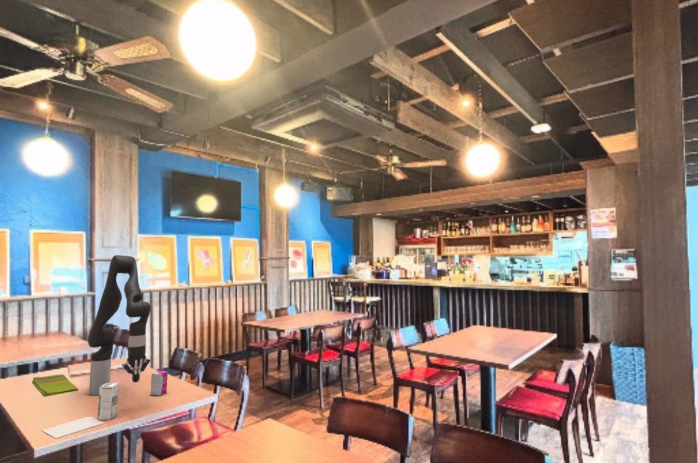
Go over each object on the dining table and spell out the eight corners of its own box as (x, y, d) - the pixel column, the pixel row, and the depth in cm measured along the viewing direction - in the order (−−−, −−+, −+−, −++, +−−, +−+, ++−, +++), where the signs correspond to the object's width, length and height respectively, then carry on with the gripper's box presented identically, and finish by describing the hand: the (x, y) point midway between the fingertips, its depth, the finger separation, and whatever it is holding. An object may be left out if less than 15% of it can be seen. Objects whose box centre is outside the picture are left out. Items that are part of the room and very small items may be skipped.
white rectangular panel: (41, 431, 166) (41, 430, 166) (89, 417, 181) (89, 416, 181) (55, 438, 159) (55, 438, 159) (104, 423, 174) (104, 422, 174)
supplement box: (159, 396, 209) (160, 373, 209) (149, 395, 210) (150, 373, 211) (167, 393, 214) (168, 370, 215) (157, 392, 215) (158, 370, 216)
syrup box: (103, 415, 183) (105, 382, 184) (117, 415, 183) (119, 382, 185) (97, 420, 177) (98, 386, 178) (111, 420, 178) (112, 386, 179)
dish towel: (63, 377, 242) (64, 372, 243) (79, 391, 218) (79, 385, 218) (31, 383, 231) (31, 377, 232) (43, 398, 207) (44, 391, 207)
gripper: (146, 341, 200) (144, 377, 199) (118, 346, 189) (117, 384, 188) (154, 343, 196) (153, 379, 195) (127, 347, 185) (125, 386, 184)
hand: (135, 381), depth 191 cm, fingers closed
